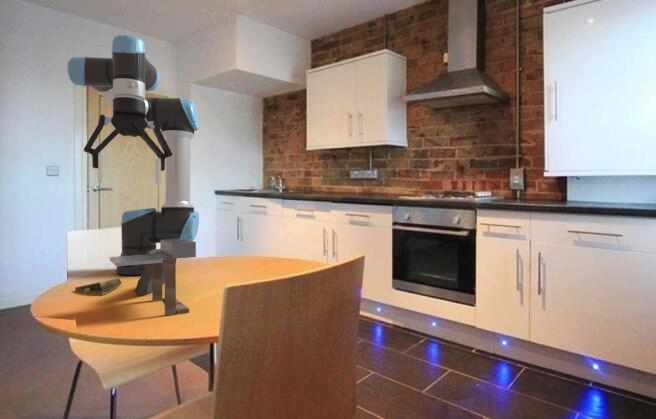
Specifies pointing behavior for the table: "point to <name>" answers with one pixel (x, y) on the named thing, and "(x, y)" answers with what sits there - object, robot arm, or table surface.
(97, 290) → the rock
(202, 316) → the table surface
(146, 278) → the marble piece
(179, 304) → the frame
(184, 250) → the trapdoor
